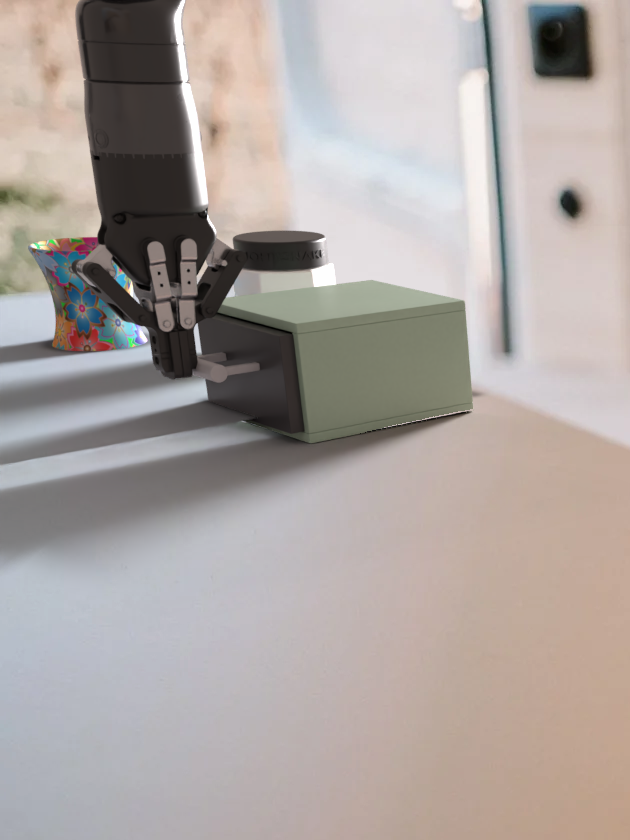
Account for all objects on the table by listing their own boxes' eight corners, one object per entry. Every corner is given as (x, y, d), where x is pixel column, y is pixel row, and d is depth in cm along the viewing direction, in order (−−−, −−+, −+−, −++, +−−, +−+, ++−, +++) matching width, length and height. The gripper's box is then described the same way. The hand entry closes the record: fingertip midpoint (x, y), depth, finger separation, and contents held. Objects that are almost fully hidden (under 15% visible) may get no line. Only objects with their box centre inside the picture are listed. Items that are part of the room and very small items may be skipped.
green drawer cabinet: (310, 443, 129) (296, 323, 125) (220, 413, 136) (204, 299, 133) (473, 411, 140) (465, 300, 137) (382, 385, 148) (372, 279, 144)
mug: (47, 369, 149) (27, 252, 145) (47, 350, 156) (28, 238, 152) (189, 361, 154) (173, 248, 150) (183, 342, 161) (168, 234, 158)
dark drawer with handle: (241, 443, 125) (227, 343, 122) (159, 415, 132) (145, 320, 129) (446, 404, 138) (438, 313, 136) (362, 380, 145) (353, 293, 142)
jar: (246, 375, 149) (228, 243, 145) (242, 357, 156) (225, 231, 152) (348, 369, 153) (334, 241, 148) (340, 352, 160) (326, 229, 155)
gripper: (205, 138, 126) (232, 358, 132) (29, 144, 116) (67, 380, 123) (257, 146, 122) (282, 373, 128) (79, 153, 112) (115, 397, 118)
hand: (177, 376), depth 125 cm, fingers closed
